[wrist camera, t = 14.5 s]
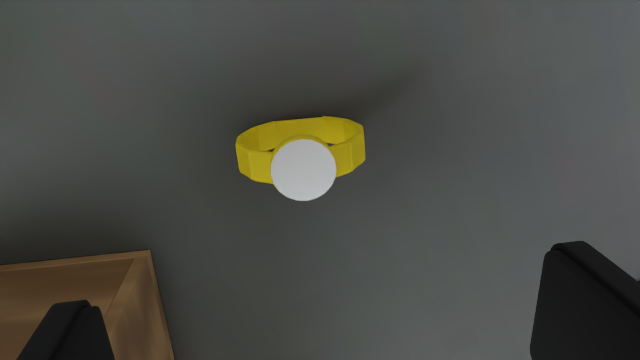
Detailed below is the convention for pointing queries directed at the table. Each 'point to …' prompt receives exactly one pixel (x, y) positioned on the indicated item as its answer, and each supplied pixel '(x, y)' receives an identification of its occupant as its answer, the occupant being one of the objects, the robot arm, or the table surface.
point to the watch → (301, 154)
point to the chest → (99, 290)
